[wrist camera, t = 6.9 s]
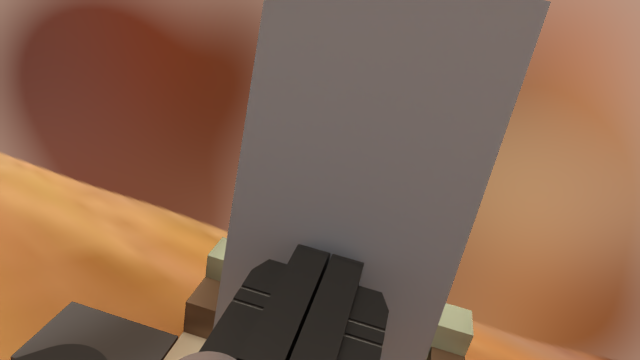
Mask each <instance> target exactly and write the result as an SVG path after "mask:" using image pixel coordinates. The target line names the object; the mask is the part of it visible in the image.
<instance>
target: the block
mask: <svg viewBox="0 0 640 360" xmlns="http://www.w3.org/2000/svg"><path fill="white" fill-rule="evenodd" d="M550 3H551V2H550V1H545V0H264V3H263V10H262V16H261V23H260V29H259V36H258V42H257V48H256V55H255V61H254V68H253V75H252V82H251V88H250V94H249V100H248V107H247V113H246V120H245V126H244V133H243V140H242V146H241V152H240V159H239V165H238V171H237V178H236V184H235V191H234V198H233V203H232V210H231V216H230V223H229V229H228V236H227V242H226V249H225V255H224V262H223V268H222V274H221V281H220V287H219V294H218V300H217V307H216V313H215V320H214V326H213V329H214V327H215V326H216V324H217V323H218V321H219V319H220V318H221V316H222V315H223V313H224V312H225V310H226V309H227V307H228V305H229V304H230V302H231V301H233V298H234V296H235V295H236V293H237V291H238V290H239V288H241V286H242V284H243V282H244V281H245V279H246V277H247V276H248V274H249V273H250V271H251V270H252V269H253V268H255V267H257V266H258V265H260V264H262V263H263V262H265V261H267V260H268V259H271V260H274V261H278V262H281V263H284V264H288V262H289V260H290V258H291V256H292V254H293V252H294V251H295V249H296V247H297V245H298V244H301V245H304V246H308V247H311V248H315V249H318V250H322V251H325V252H328V253H330V258H331V256H332V254H336V255H339V256H343V257H346V258H350V259H353V260H356V261H360V262H363V263H364V267H363V270H362V274H361V278H360V282H359V286H362V287H365V288H369V289H372V290H375V291H379V292H382V294H383V296H384V299H385V302H386V304H387V307H388V310H389V313H388V319H387V325H386V330H385V336H384V341H383V346H382V353H381V358H380V360H426V358H427V355H428V353H429V350H430V347H431V344H432V341H433V338H434V335H435V332H436V330H437V327H438V324H439V321H440V318H441V315H442V312H443V309H444V307H445V304H446V301H447V298H448V295H449V292H450V289H451V287H452V284H453V281H454V278H455V275H456V272H457V269H458V266H459V264H460V261H461V258H462V255H463V252H464V249H465V246H466V243H467V241H468V238H469V235H470V232H471V229H472V226H473V223H474V221H475V218H476V215H477V212H478V209H479V206H480V203H481V200H482V198H483V195H484V191H485V189H486V186H487V183H488V180H489V177H490V175H491V172H492V169H493V166H494V163H495V160H496V157H497V155H498V152H499V148H500V146H501V143H502V140H503V137H504V134H505V132H506V129H507V126H508V123H509V120H510V117H511V114H512V111H513V109H514V106H515V103H516V100H517V97H518V94H519V91H520V89H521V86H522V83H523V80H524V77H525V74H526V71H527V68H528V66H529V63H530V60H531V57H532V54H533V51H534V48H535V46H536V43H537V39H538V37H539V34H540V31H541V28H542V26H543V23H544V19H545V17H546V14H547V11H548V8H549V5H550ZM329 261H330V260H329Z"/></svg>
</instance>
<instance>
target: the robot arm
mask: <svg viewBox="0 0 640 360" xmlns="http://www.w3.org/2000/svg"><path fill="white" fill-rule="evenodd" d="M329 260H330V261H329ZM363 267H364V263H363V262H360V261H356V260H353V259H350V258H346V257H343V256H339V255H336V254H332V256H331V258H330V253H328V252H325V251H322V250H318V249H315V248H311V247H308V246H304V245H301V244H298V245H297V247H296V249H295V251H294V252H293V254H292V256H291V258H290V260H289V262H288V264H284V263H281V262H278V261H274V260H271V259H268V260H267V261H265V262H263V263H262V264H260V265H258V266H257V267H255V268H253V269H252V270H251V271H250V273H249V274H248V276H247V277H246V279H245V281H244V282H243V284H242V286H241V288H239V290H238V291H237V293H236V295H235V296H234V298H233V301H231V302H230V304H229V305H228V307H227V309H226V310H225V312H224V313H223V315H222V316H221V318H220V319H219V321H218V323H217V324H216V326H215V327H214V329H213V330H212V332H211V333H210V335H209V336H208V338H207V340H206V341H205V343H204V344H203V346H202V347H201V349H200V350H199V352H197V353H192V354H190V355H187V356H185V357H183V358H181V359H179V360H380V358H381V353H382V346H383V341H384V336H385V330H386V325H387V319H388V313H389V310H388V307H387V304H386V302H385V299H384V296H383V294H382V292H379V291H375V290H372V289H369V288H365V287H362V286H359V282H360V278H361V274H362V270H363ZM11 360H107V359H106V357H105V356H104V355H103V354H102V353H101V352H100V351H98V350H96V349H95V348H92V347H90V346H86V345H82V344H62V345H56V346H52V347H49V348H45V349H42V350H39V351H36V352H33V353H30V354H27V355H24V356H21V357H17V358H14V359H11Z"/></svg>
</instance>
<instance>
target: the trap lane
mask: <svg viewBox="0 0 640 360" xmlns="http://www.w3.org/2000/svg"><path fill="white" fill-rule="evenodd" d="M226 242H227V238H224V237H222V239H221V240H220V241H219V242H218V244H217V245H216V246H215V247H214V248H213V250H212V251H211V252H210V253H209V254H208V258H207V267H206V277H205V278H204V279H203V281H202V282H201V283H200V285H199V286H198V287H197V288H196V290H195V291H194V292H193V294H192V295H191V296H190V297H189V299H188V300H187V301H186V308H185V320H184V332H183V333H182V334H181V336H180V337H179V339H178V336H176V335H173V334H170V333H167V332H164V331H161V330H157V329H154V328H151V327H148V326H145V325H142V324H139V323H136V322H133V321H130V320H127V319H124V318H121V317H118V316H115V315H112V314H109V313H106V312H103V311H100V310H96V309H93V308H90V307H87V306H84V305H81V304H78V303H75V302H71V303H70V304H69V305H68V306H66V307H65V308H64V309H63V310H62V311H61V312H60V313H59V314H58V315H56V316H55V317H54V318H53V319H52V320H51V321H50V322H49V323H48V324H47V325H45V326H44V327H43V328H42V329H41V330H40V331H39V332H38V333H37V334H35V335H34V336H33V337H32V338H31V339H30V340H29V341H28V342H27V343H25V344H24V345H23V346H22V347H21V348H20V349H19V350H18V351H17V352H15V353H14V354H13V355H12V356H11V359H14V358H17V357H21V356H24V355H27V354H30V353H33V352H36V351H39V350H42V349H45V348H49V347H52V346H56V345H62V344H82V345H86V346H90V347H92V348H95V349H96V350H98V351H100V352H101V353H102V354H103V355H104V356H105V357H106V359H107V360H179V359H181V358H183V357H185V356H187V355H190V354H192V353H197V352H199V350H200V349H201V347H202V346H203V344H204V343H205V341H206V340H207V338H208V336H209V335H210V333H211V332H212V330H213V326H214V320H215V313H216V307H217V300H218V294H219V287H220V281H221V274H222V268H223V262H224V255H225V249H226ZM472 338H473V321H472V311H471V310H467V309H463V308H461V307H457V306H454V305H450V304H447V303H446V304H445V307H444V309H443V312H442V315H441V318H440V321H439V324H438V327H437V330H436V332H435V335H434V338H433V341H432V344H431V347H430V350H429V353H428V355H427V358H426V360H465V355H466V352H467V350H468V348H469V345H470V343H471V340H472Z"/></svg>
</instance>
